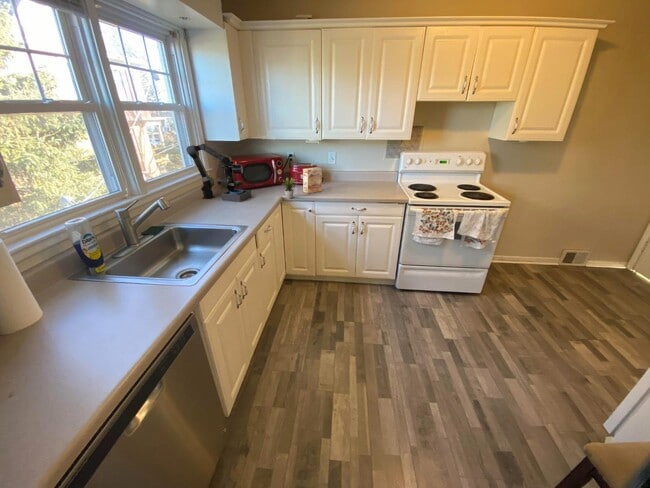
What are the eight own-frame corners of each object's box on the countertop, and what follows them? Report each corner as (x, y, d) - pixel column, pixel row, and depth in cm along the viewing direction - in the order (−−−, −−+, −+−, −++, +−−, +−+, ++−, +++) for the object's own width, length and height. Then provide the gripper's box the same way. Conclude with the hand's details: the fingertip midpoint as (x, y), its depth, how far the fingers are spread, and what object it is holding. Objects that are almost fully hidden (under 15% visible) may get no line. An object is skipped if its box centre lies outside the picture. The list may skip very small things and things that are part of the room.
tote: (222, 199, 213) (221, 193, 211) (234, 194, 227) (233, 188, 224) (240, 201, 209) (239, 195, 207) (251, 196, 222) (250, 190, 220)
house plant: (294, 201, 212) (293, 179, 205) (277, 199, 215) (276, 178, 208) (300, 196, 224) (300, 176, 217) (285, 195, 228) (284, 175, 221)
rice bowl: (227, 197, 214) (226, 191, 212) (234, 194, 223) (234, 188, 221) (239, 199, 212) (238, 193, 210) (246, 196, 221) (245, 190, 218)
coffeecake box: (307, 193, 233) (307, 170, 224) (303, 192, 238) (302, 168, 229) (322, 191, 241) (322, 168, 233) (317, 189, 246) (317, 166, 238)
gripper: (211, 174, 207) (214, 195, 213) (233, 176, 202) (235, 197, 208) (220, 172, 216) (223, 191, 223) (241, 173, 211) (244, 194, 218)
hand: (231, 193), depth 218 cm, fingers closed on rice bowl
